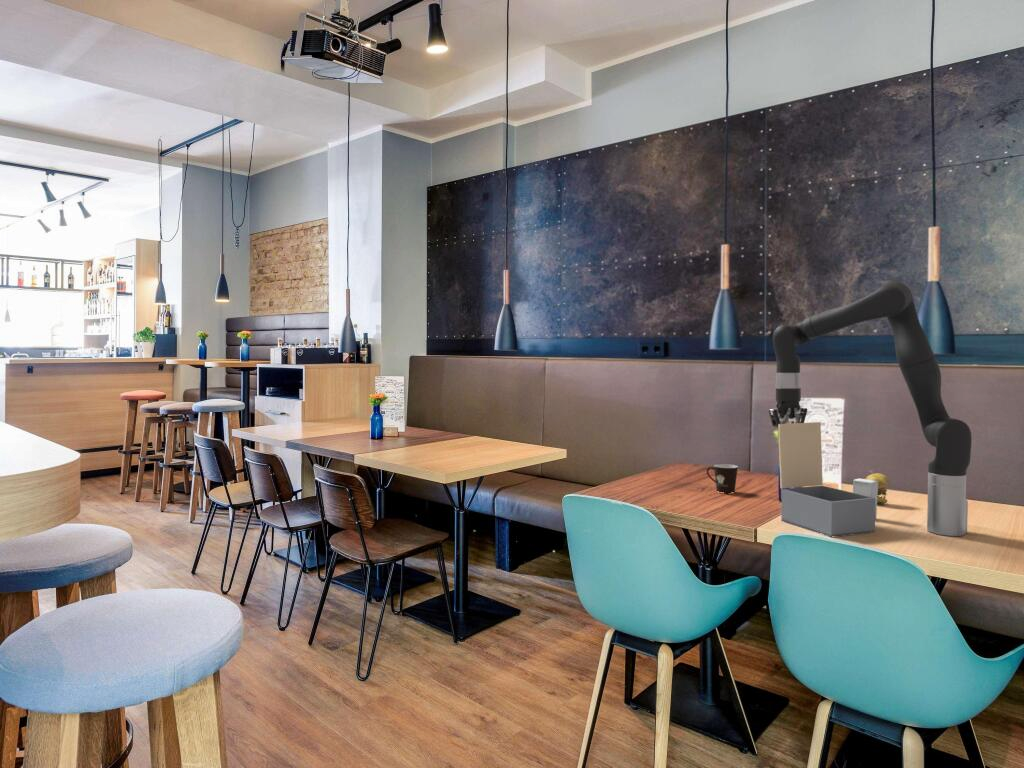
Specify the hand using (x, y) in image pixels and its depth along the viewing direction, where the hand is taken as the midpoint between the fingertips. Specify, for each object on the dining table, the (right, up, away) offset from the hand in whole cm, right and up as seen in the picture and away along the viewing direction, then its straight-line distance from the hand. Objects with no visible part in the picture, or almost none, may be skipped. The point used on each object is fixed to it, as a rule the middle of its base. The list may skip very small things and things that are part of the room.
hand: (788, 439), depth 213 cm
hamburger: (+37, -24, +15) cm, 46 cm away
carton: (+5, -25, -15) cm, 29 cm away
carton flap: (+2, -4, -5) cm, 7 cm away
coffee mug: (-9, -23, +37) cm, 45 cm away
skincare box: (+22, -25, -5) cm, 33 cm away
